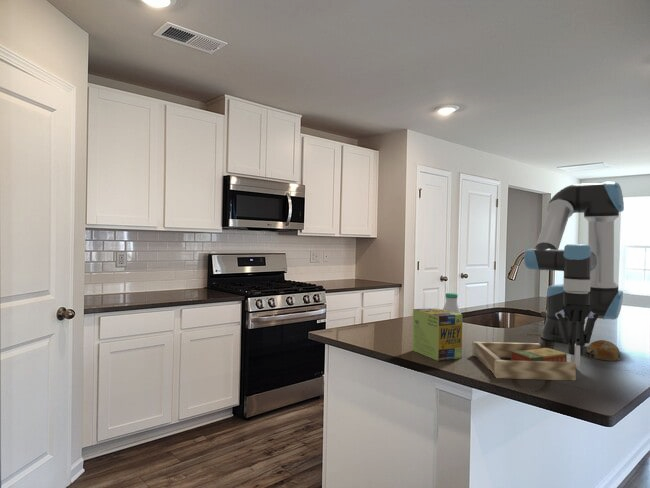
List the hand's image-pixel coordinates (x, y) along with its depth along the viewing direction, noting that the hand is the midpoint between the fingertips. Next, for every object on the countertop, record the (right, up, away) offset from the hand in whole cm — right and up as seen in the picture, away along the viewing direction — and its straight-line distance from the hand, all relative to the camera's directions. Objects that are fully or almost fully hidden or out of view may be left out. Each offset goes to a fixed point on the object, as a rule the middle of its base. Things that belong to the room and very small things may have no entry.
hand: (575, 364), depth 139 cm
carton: (-9, -2, +5) cm, 11 cm away
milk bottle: (-31, -1, +32) cm, 44 cm away
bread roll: (+18, -2, +14) cm, 23 cm away
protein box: (-41, -1, +15) cm, 44 cm away
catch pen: (-18, -1, +1) cm, 18 cm away
